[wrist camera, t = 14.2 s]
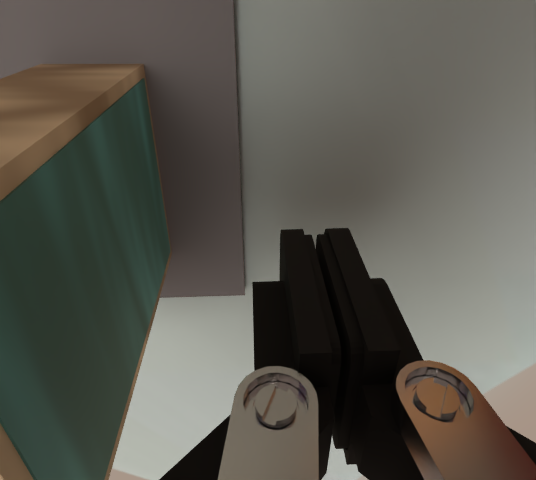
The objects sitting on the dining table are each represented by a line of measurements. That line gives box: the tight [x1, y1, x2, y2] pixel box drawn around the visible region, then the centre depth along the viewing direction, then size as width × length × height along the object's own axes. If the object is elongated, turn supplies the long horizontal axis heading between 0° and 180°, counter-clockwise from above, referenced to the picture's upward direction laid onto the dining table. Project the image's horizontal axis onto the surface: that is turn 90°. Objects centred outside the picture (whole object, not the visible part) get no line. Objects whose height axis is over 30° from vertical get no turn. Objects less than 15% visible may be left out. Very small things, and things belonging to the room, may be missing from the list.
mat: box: [0, 0, 245, 298], centre depth 16 cm, size 18×13×1 cm
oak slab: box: [0, 64, 172, 480], centre depth 11 cm, size 4×8×12 cm, turn 0°
